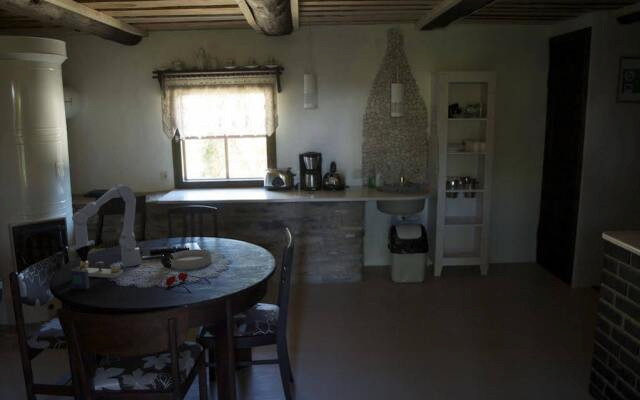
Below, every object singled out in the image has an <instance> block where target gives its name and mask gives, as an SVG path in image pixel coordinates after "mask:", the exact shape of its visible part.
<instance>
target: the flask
mask: <svg viewBox="0 0 640 400" xmlns="http://www.w3.org/2000/svg"><path fill="white" fill-rule="evenodd" d="M81 268H82V267H81V266H80V265H79V266H76V267H75V268H72V269H70V276H71V288H72V289H74V290H83V291H84V290H90V280H89V276H88V270H83V269H81Z"/></svg>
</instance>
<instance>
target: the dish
mask: <svg viewBox="0 0 640 400" xmlns="http://www.w3.org/2000/svg"><path fill="white" fill-rule="evenodd" d="M211 254H212V253H211V251H210V250H206V249H201V248H200V249H197V248H196V249H194V248H193V249H185V250H180V251H175V252H173V253H172V254H170V255H172V256H173V258H174V259H171V258H170V257H169V265H170V264H171V266H170V267H171V268H172V269H177V270H194V269H199V268H203V267H206V266H208V265H210V264H211V263H212V257H211ZM170 261H171V263H170Z"/></svg>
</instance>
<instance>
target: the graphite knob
mask: <svg viewBox="0 0 640 400" xmlns="http://www.w3.org/2000/svg"><path fill="white" fill-rule="evenodd" d="M94 266H95V267H94V268H99V270H101V269H104V267H105V263H104V261H100V260H99V261H96V262H94Z"/></svg>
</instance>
